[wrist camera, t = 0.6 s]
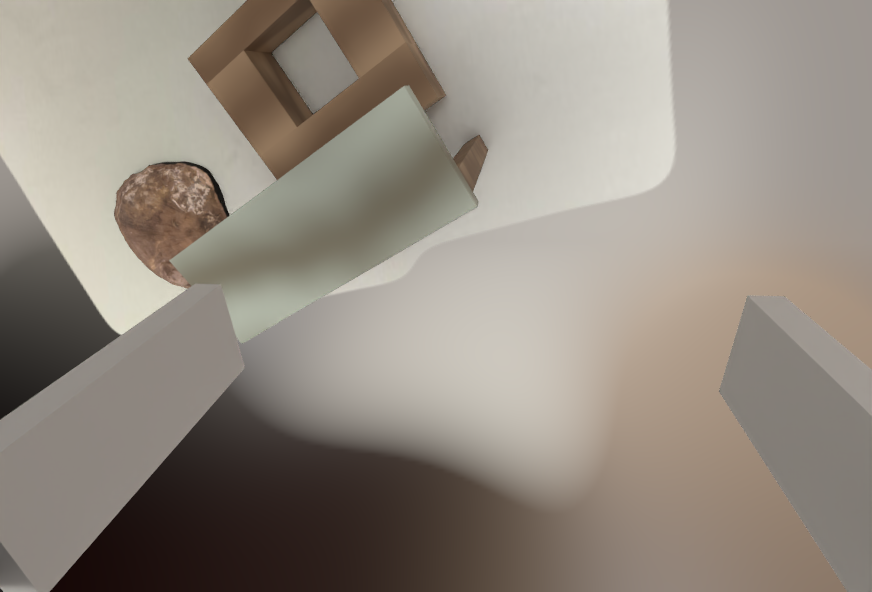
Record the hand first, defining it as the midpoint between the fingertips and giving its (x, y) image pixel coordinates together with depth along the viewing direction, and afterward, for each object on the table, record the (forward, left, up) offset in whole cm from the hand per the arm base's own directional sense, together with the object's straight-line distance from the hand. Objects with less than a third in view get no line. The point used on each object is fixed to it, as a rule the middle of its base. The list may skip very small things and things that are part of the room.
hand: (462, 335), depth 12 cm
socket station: (-10, -8, -27) cm, 30 cm away
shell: (-10, -29, -28) cm, 42 cm away
